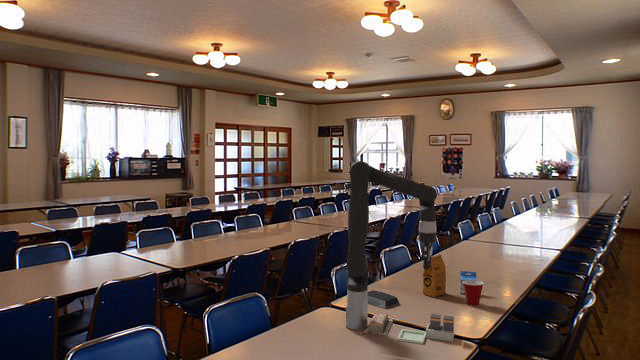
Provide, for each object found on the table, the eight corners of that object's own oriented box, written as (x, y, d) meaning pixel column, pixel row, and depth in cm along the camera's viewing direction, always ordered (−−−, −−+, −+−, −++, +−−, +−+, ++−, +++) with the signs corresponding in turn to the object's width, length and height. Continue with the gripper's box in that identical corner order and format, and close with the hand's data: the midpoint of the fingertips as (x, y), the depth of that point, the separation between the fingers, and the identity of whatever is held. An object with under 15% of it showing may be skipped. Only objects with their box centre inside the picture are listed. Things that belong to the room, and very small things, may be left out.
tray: (397, 341, 184) (397, 338, 184) (401, 332, 194) (401, 328, 194) (423, 345, 180) (423, 341, 180) (426, 335, 190) (426, 332, 190)
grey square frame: (425, 339, 186) (425, 318, 186) (428, 332, 194) (428, 311, 193) (452, 342, 183) (453, 321, 182) (454, 335, 190) (454, 314, 190)
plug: (430, 335, 188) (430, 316, 187) (431, 331, 192) (431, 313, 191) (440, 336, 186) (440, 318, 186) (440, 333, 190) (440, 314, 190)
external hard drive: (384, 310, 224) (384, 302, 224) (356, 300, 239) (356, 293, 238) (400, 304, 232) (400, 296, 232) (373, 295, 247) (373, 288, 247)
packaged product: (386, 326, 189) (364, 324, 192) (386, 337, 189) (364, 335, 192) (393, 312, 206) (372, 310, 209) (393, 322, 206) (372, 320, 210)
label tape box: (460, 294, 247) (460, 272, 247) (459, 292, 251) (460, 270, 251) (476, 295, 245) (476, 273, 244) (476, 293, 249) (476, 271, 248)
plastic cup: (480, 301, 235) (481, 279, 235) (486, 308, 224) (486, 284, 224) (459, 300, 236) (460, 278, 236) (464, 307, 225) (464, 284, 225)
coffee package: (419, 293, 249) (419, 255, 248) (434, 290, 256) (434, 252, 255) (433, 298, 240) (433, 258, 239) (448, 294, 248) (448, 255, 246)
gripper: (421, 227, 203) (421, 262, 204) (416, 232, 190) (416, 270, 191) (438, 228, 201) (437, 264, 201) (434, 233, 187) (434, 271, 188)
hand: (427, 266), depth 196 cm, fingers open, 8 cm apart
